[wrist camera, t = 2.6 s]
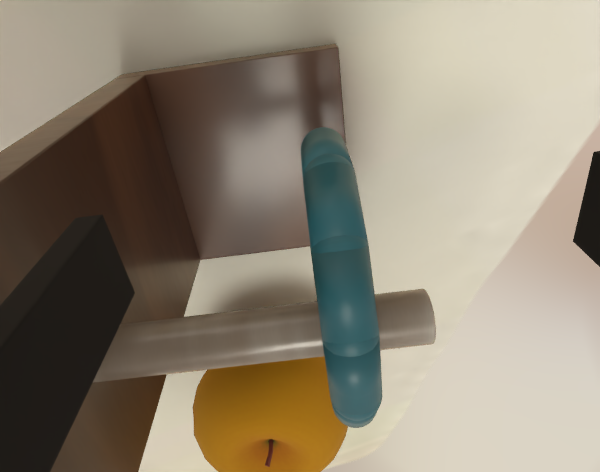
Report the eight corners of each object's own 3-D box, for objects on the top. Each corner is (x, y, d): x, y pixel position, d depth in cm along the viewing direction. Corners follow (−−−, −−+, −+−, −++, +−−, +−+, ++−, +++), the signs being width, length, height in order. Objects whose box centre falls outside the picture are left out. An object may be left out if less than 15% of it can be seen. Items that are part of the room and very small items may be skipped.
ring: (321, 295, 27) (343, 493, 17) (295, 100, 21) (305, 227, 11) (350, 292, 27) (389, 489, 17) (332, 95, 21) (379, 218, 11)
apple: (178, 348, 41) (145, 466, 31) (276, 271, 37) (272, 379, 27) (275, 411, 46) (272, 529, 37) (370, 349, 42) (396, 464, 32)
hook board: (179, 252, 36) (61, 568, 17) (121, 74, 28) (-203, 279, 10) (363, 229, 35) (454, 531, 16) (351, 41, 28) (491, 190, 9)
